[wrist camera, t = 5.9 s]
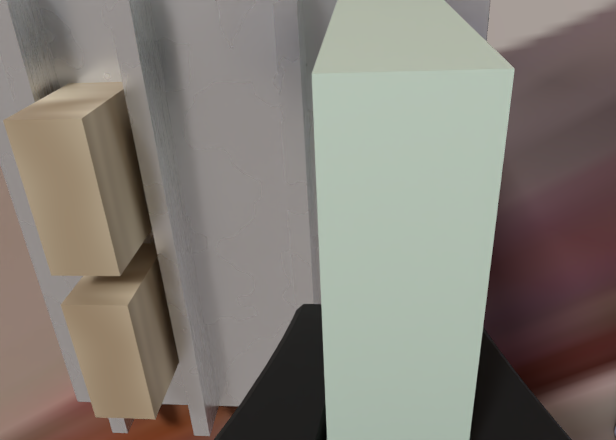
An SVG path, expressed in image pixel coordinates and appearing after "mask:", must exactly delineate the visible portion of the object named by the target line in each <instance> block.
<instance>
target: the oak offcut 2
mask: <svg viewBox="0 0 616 440" xmlns="http://www.w3.org/2000/svg"><path fill="white" fill-rule="evenodd" d="M61 308H62V311H63V314H64V317H65V320H66V324H67V327H68V330H69V333H70V336H71V340H72V343H73V346H74V349H75V352H76V356H77V359H78V362H79V365H80V368H81V372H82V375H83V378H84V381H85V384H86V388H87V391H88V394H89V397H90V400H91V404H92V407H93V410H94V413H95V416H96V417H102V418H133V419H156V416H157V414H158V412H159V409H160V407H161V404H162V402H163V400H164V397H165V395H166V392H167V390H168V388H169V385H170V383H171V380H172V378H173V376H174V373H175V371H176V368H177V366H178V364H179V358H178V353H177V348H176V343H175V338H174V334H173V329H172V324H171V319H170V314H169V309H168V304H167V299H166V294H165V290H164V285H163V280H162V275H161V270H160V265H159V260H158V255H157V250H156V246H155V243H142V245H141V246H140V248H139V249H138V251H137V252H136V254H135V255H134V257H133V258H132V260H131V261H130V262H129V264H128V265H127V267H126V268H125V270H124V271H123V273H122V274H121V276H83V277H82V278H81V279H80V281H79V282H78V283H77V284H76V286H75V287H74V288H73V290H72V291H71V292H70V293H69V295H68V296H67V297H66V298H65V300H64V301H63V302H62V304H61Z"/></svg>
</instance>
